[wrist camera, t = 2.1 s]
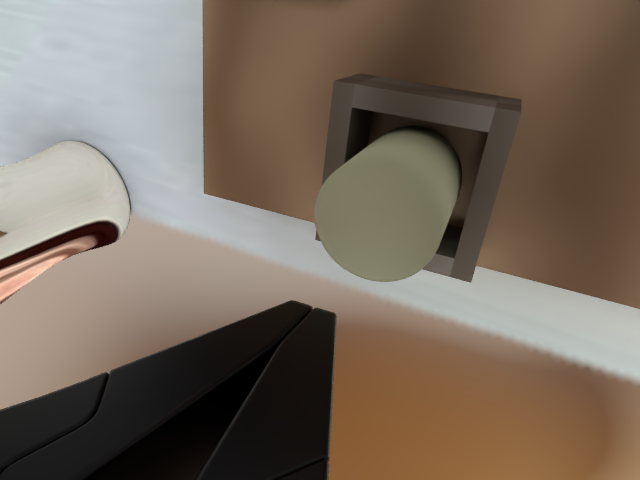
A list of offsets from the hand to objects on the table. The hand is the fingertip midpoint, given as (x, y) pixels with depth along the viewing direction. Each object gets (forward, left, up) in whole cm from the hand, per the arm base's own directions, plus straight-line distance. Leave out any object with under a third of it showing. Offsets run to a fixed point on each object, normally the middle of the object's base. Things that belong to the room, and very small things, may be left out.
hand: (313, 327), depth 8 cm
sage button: (0, 0, -9) cm, 9 cm away
